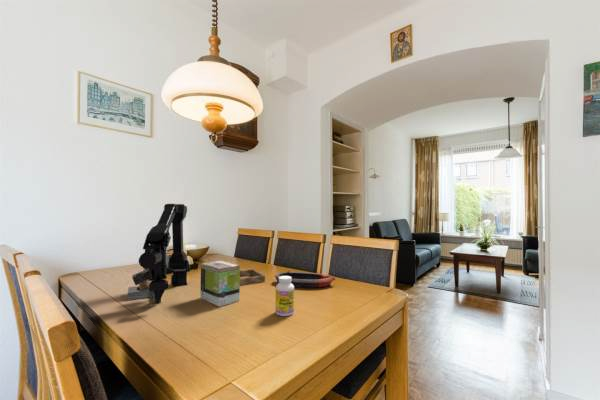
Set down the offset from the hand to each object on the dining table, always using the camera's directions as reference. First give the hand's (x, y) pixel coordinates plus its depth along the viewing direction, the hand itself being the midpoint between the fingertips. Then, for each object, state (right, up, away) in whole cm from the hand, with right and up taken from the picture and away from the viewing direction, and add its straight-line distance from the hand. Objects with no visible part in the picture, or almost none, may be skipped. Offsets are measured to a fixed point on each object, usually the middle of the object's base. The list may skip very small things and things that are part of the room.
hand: (157, 302), depth 105 cm
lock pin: (-4, -1, +7) cm, 8 cm away
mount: (-12, -1, +12) cm, 17 cm away
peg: (-12, -1, +12) cm, 17 cm away
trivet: (+26, -2, +36) cm, 44 cm away
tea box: (+22, -1, +6) cm, 23 cm away
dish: (+58, -2, +29) cm, 65 cm away
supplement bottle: (+50, -1, -8) cm, 51 cm away
